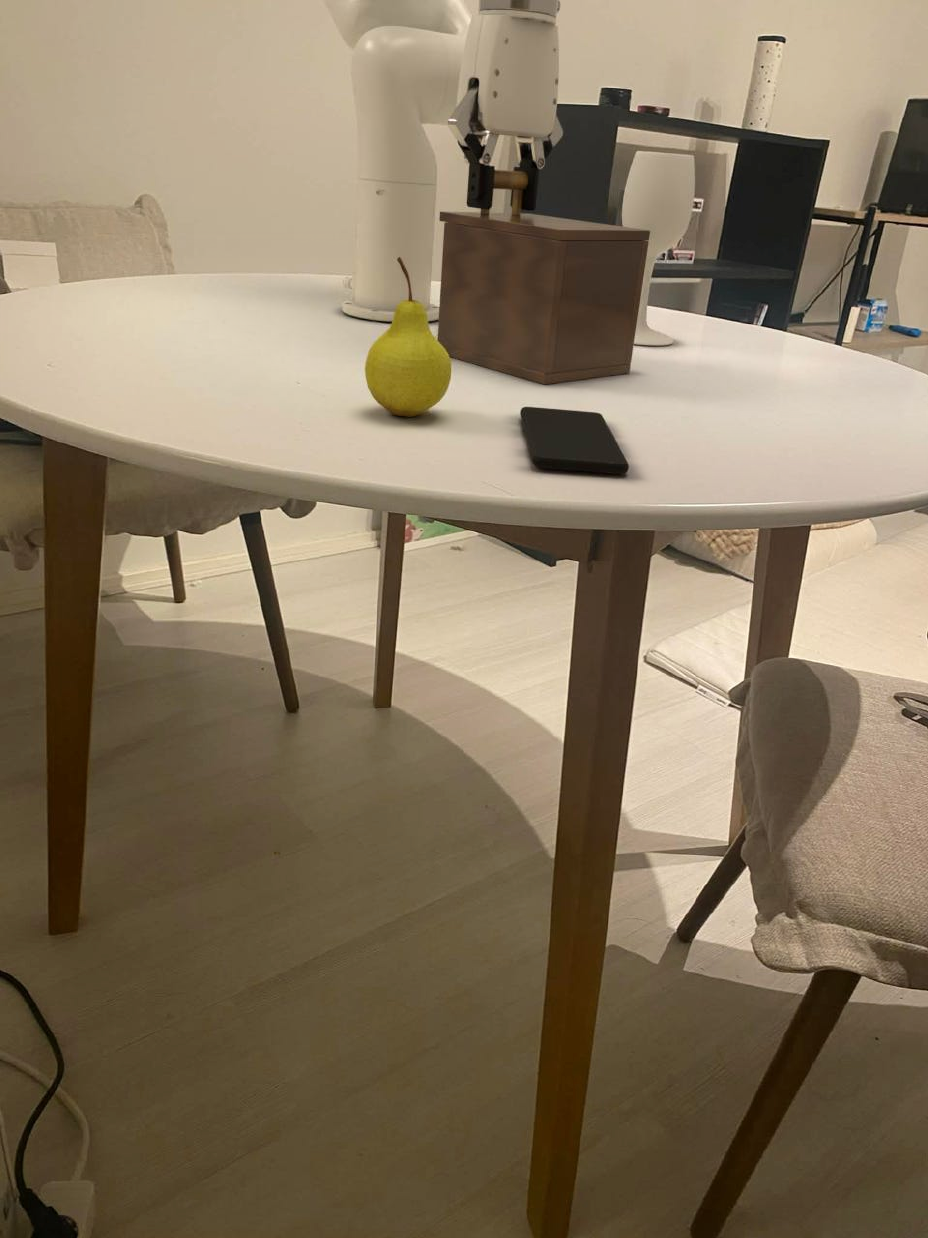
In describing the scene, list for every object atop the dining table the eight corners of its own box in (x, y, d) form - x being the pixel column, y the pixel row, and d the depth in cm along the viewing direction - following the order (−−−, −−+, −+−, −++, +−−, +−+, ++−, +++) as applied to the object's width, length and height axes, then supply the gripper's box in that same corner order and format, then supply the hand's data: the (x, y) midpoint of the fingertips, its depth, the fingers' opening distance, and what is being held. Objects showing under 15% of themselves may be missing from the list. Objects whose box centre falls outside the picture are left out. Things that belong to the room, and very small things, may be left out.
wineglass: (678, 348, 118) (710, 156, 109) (607, 343, 118) (632, 150, 109) (666, 335, 126) (695, 155, 117) (599, 330, 126) (622, 149, 116)
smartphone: (602, 412, 82) (631, 465, 68) (600, 422, 82) (629, 476, 69) (520, 405, 82) (532, 457, 68) (519, 415, 82) (531, 468, 68)
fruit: (464, 421, 80) (476, 265, 74) (394, 429, 76) (401, 266, 71) (416, 401, 85) (424, 253, 79) (348, 408, 81) (351, 253, 75)
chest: (436, 352, 105) (444, 222, 99) (521, 344, 113) (533, 223, 107) (544, 384, 94) (559, 240, 89) (629, 373, 102) (649, 240, 97)
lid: (439, 220, 100) (442, 165, 97) (528, 222, 108) (533, 171, 105) (559, 240, 89) (566, 178, 86) (649, 240, 97) (657, 183, 95)
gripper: (551, 18, 101) (533, 206, 109) (424, -9, 91) (414, 203, 99) (606, 15, 97) (583, 213, 104) (478, -13, 86) (463, 210, 94)
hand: (501, 206), depth 101 cm, fingers closed on lid, 5 cm apart
